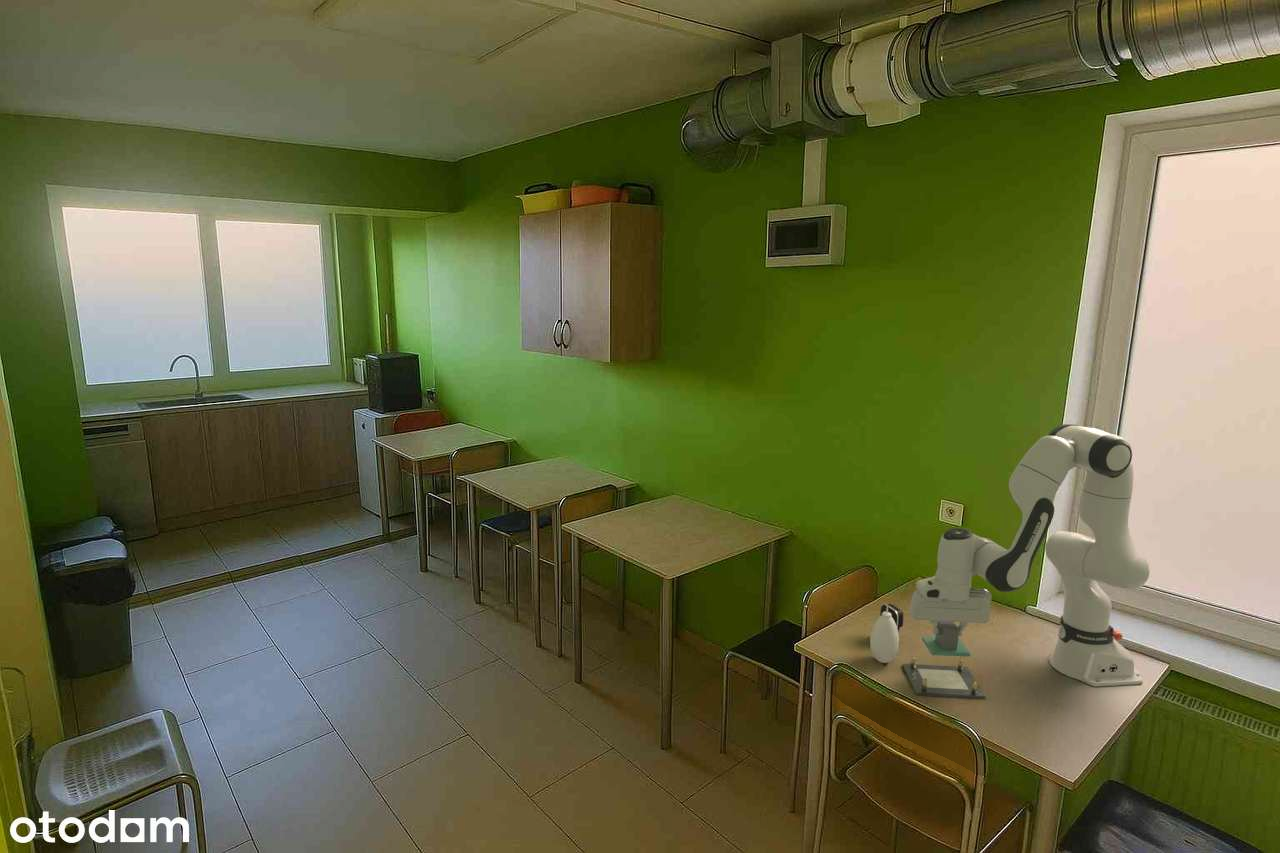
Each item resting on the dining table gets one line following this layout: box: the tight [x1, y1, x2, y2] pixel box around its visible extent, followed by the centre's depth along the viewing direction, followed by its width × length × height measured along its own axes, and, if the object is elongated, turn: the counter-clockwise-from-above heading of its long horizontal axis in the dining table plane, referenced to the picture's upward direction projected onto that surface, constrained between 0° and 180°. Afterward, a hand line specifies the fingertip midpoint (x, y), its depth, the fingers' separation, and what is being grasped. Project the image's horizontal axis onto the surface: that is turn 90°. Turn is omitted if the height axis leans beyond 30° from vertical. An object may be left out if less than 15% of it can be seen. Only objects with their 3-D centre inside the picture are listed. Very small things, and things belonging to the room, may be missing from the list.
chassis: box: [901, 655, 987, 700], centre depth 193 cm, size 18×14×4 cm
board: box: [921, 621, 971, 657], centre depth 190 cm, size 10×8×7 cm
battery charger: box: [879, 603, 904, 633], centre depth 214 cm, size 7×4×11 cm, turn 21°
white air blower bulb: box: [869, 605, 900, 664], centre depth 202 cm, size 8×8×18 cm
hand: (947, 634), depth 190 cm, fingers closed on board, 4 cm apart
